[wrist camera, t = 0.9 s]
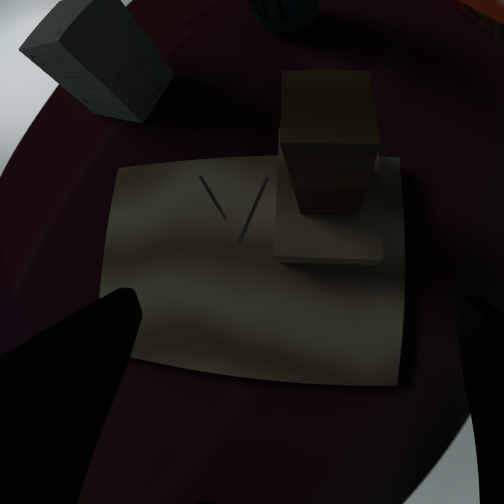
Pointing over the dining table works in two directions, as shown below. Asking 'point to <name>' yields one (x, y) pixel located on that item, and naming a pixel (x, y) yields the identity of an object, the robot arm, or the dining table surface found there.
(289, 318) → the board
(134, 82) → the small box
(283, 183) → the block
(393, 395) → the dining table surface
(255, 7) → the beverage bottle
